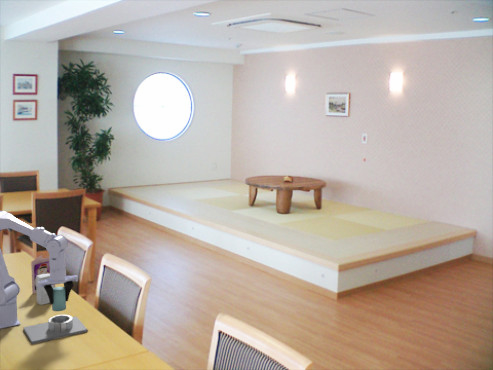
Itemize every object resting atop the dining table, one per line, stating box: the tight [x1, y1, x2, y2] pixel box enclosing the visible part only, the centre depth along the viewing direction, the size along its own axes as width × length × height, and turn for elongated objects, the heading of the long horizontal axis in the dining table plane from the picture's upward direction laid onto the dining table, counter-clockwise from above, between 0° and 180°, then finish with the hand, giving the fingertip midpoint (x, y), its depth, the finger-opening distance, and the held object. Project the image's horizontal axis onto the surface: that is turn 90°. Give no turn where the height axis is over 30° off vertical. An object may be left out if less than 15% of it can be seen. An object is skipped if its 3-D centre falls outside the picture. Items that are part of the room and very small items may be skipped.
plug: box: [51, 286, 67, 312], centre depth 201 cm, size 5×5×8 cm
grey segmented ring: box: [47, 314, 73, 332], centre depth 201 cm, size 9×9×3 cm
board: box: [23, 315, 88, 345], centre depth 200 cm, size 20×14×1 cm
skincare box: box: [36, 273, 54, 306], centre depth 226 cm, size 6×4×12 cm
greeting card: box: [30, 254, 56, 295], centre depth 241 cm, size 11×7×15 cm, turn 143°
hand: (58, 301), depth 201 cm, fingers closed on plug, 5 cm apart
